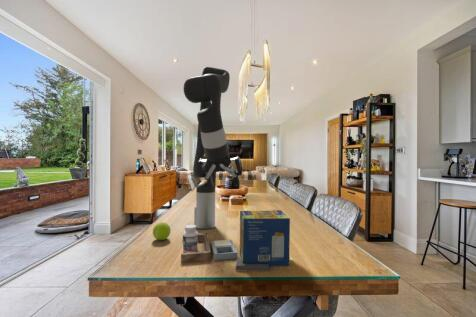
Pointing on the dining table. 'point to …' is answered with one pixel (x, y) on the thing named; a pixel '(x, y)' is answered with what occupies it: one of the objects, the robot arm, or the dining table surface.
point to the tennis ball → (161, 231)
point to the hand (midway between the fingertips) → (224, 185)
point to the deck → (223, 250)
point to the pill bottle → (190, 239)
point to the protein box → (264, 237)
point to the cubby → (198, 255)
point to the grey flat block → (251, 267)
